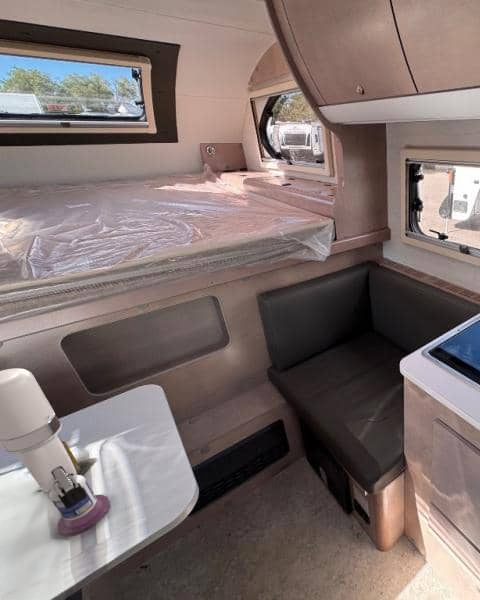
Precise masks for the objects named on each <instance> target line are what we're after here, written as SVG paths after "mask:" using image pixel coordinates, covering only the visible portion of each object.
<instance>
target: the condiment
mask: <svg viewBox="0 0 480 600" xmlns="http://www.w3.org/2000/svg"><path fill="white" fill-rule="evenodd" d="M57 435H58V434H57ZM58 437H59V439H60V440H61V442H62V444H63V446H64V448H65V449H66V451H67V453H68V455H69V457H70V459H71V461H72V463H73V465H74V468H75V470H76V472H77V473H76V474H77V475H81V476H83V475H84V473H85V472H86V471H87V470H88V469H89V468H90V467H91V466H92V465H93V463H94V462H95V461H96V460H98V457H92V458H91V457H88V458H76V457H75V455H74V454H73V453H72V450H71V449H70V448H69V446H68V444H67V442H66V441H65V440H63V439H62V438H61V437H60V435H58ZM36 491H43V490H42V489H41V488H40V486H38V488H36Z"/></svg>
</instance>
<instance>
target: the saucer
mask: <svg viewBox="0 0 480 600" xmlns="http://www.w3.org/2000/svg"><path fill="white" fill-rule="evenodd" d="M95 497H96V499H97V500H96V504H95V505H94V507H93V508H92V509H91V510H90V511H89V512H88V513H87V514H85V515H84V516H82V517H80V518H78V519H75V520H66V519H64V518H63V516H62V515H61V517H60V518H59V520H58V522H57V528H56V529H57V531H58V533H59V534H60V535H61V536H65V537H70V536H71V537H72V536H76V535H79V534H81V533H84V532H85V531H87V530H89V529H91V528H93V527H94V526H95V525H96V524H98V523H99V522H100V521H101V520H102V519H103V518H104V517H105V515H106V514H107V513H108V511H109V509H110V507H111V501H110V499H109V497H108V496H107V495H106V494H95Z"/></svg>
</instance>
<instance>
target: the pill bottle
mask: <svg viewBox="0 0 480 600" xmlns="http://www.w3.org/2000/svg"><path fill="white" fill-rule="evenodd" d="M66 475H68V473H66ZM73 477H74V479H75V480H76V482H77V483H79V484H80V485H81V487H82V488H83V490H84V492H85V493H86V495H87V497H86V498H85V499H83V500H82V501H80V502H79V503H77V504H75V505H74V506H72V507H71V508H69V509H66V507H65V506H64V504H63V503H62V501H61V500H60V498H59V497H58V495H59V493H58V492H57V490H56V489H55V487H54V488H53V489H51V490H50V491H49V495H48V496H49V499H50V501H51V502H52V503H53V505H54V506H55V508H56V509H57V511H58V512H59V513H60V515H61V517H62V516H63V518H64V519H66V520H75V519H78V518H80V517H82V516H84V515H85V514H87V513H88V512H89V511H90V510H91V509H92V508H93V507H94V505H95V504H96V500H97V499H96V497H95V495H96V494H95V493H94V491H93V489H92V488H91V486H90V485H89V483H88V481H87V479H86V478H85V477H84V476H83V475H77V474H76V475H75V476H73ZM69 480H70V479H69ZM56 481H58V480H57V479H56V480H55V482H56ZM70 482H71V480H70ZM71 483H72V482H71ZM58 486H59V487H60V489H61V490H62V486H61V484H60V485H58Z"/></svg>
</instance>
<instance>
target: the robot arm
mask: <svg viewBox="0 0 480 600" xmlns="http://www.w3.org/2000/svg"><path fill="white" fill-rule="evenodd" d="M62 428H63V424H62V422H61V421H60V419H59V417H58V416H57V414H56V412H55V411H54V409H53V407H52V405H51V404H50V402H49V400H48V398H47V397H46V395H45V393H44V391H43V390H42V387H41V386H40V384H39V383H38V381H37V380H36V378H35V376H34V374H33V373H32V372H31V371H30V370H28V369H26V368H19V367H17V368H15V367H14V368H8V369H3V370H0V446H1V447H2V449H3V450H4V452H5V453H7V454H11V455H12V454H13V455H14V454H15V455H16V454H17V455H18V457H19V459H20V461H21V462H22V463H23V465H24V466H25V468H26V469H27V471H28V472H29V474H30V475H31V477H32V478H33V479H34V481H35V482H36V484H37V485H38V487H40V488H41V489H42V490H41V491H42V492H43V493H48V492H49V493H50V491H51V489H53V488H54V487H55V489H56V490H57V492H58V493H59V495H58V497H59V498H60V500H61V501H62V503H63V504H64V506H65V507H66V509H69V508H71V507H72V506H74V505H75V504H77V503H79V502H80V501H82V500H83V499H85V498H86V497H87V495H86V493H85V492H84V490H83V488H82V487H81V485H80V484H79V483H77V482H76V480H75V479H74V477H73V476H75V475H76V473H77V472H76V470H75V468H74V465H73V463H72V461H71V459H70V457H69V455H68V453H67V451H66V449H65V448H64V446H63V444H62V442H61V440H62V439H61V438H60V436H59V437H58V434H59V433H60V432H61V430H62ZM59 438H60V439H61V440H60V439H59ZM66 473H68V475H66ZM56 479H57V480H58V481H56V482H55V480H56ZM69 479H70V480H71V482H72V483H71V482H70V480H69ZM60 484H61V486H62V490H61V489H60V487H59V486H58V485H60Z"/></svg>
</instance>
